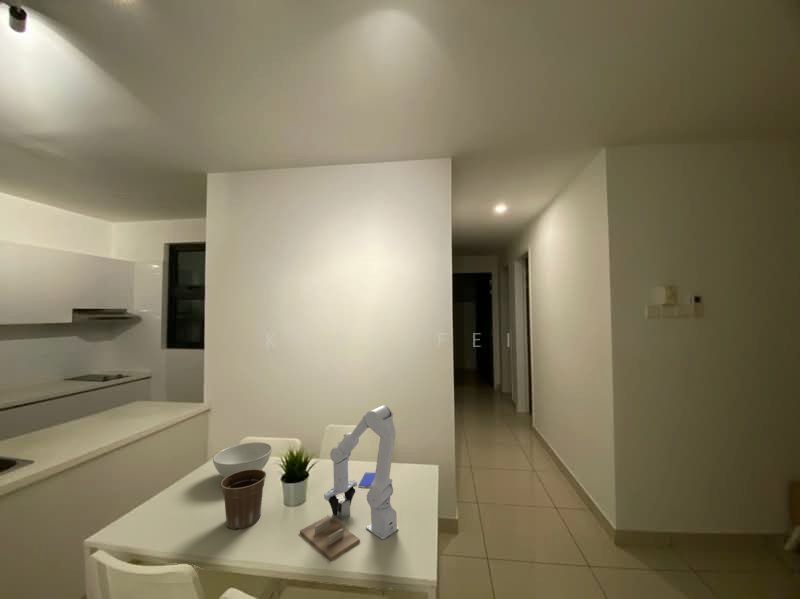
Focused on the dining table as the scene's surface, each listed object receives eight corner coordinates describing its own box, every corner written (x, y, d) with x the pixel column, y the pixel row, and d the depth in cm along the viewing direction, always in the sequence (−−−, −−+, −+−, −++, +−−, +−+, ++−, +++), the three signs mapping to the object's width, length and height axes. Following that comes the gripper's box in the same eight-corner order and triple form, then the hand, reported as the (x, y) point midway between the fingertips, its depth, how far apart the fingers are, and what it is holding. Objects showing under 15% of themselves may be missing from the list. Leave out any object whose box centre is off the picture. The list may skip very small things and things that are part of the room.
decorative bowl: (199, 485, 157) (200, 459, 158) (245, 461, 182) (245, 439, 182) (240, 495, 147) (240, 468, 147) (283, 469, 171) (283, 445, 172)
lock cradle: (359, 541, 114) (359, 531, 115) (330, 560, 106) (330, 549, 106) (328, 518, 128) (327, 509, 129) (300, 533, 120) (299, 523, 120)
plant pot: (248, 503, 140) (248, 465, 141) (275, 513, 132) (274, 473, 133) (211, 525, 126) (211, 482, 126) (238, 538, 118) (238, 492, 119)
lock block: (350, 515, 130) (349, 500, 130) (341, 520, 127) (341, 504, 127) (340, 509, 134) (340, 494, 135) (332, 513, 131) (332, 498, 132)
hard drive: (365, 472, 164) (358, 484, 151) (381, 472, 162) (375, 485, 150) (365, 475, 164) (358, 488, 151) (381, 476, 162) (375, 489, 150)
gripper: (349, 466, 139) (350, 499, 139) (319, 479, 129) (320, 515, 128) (359, 472, 134) (360, 506, 134) (329, 485, 124) (330, 522, 123)
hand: (341, 510), depth 131 cm, fingers open, 6 cm apart
